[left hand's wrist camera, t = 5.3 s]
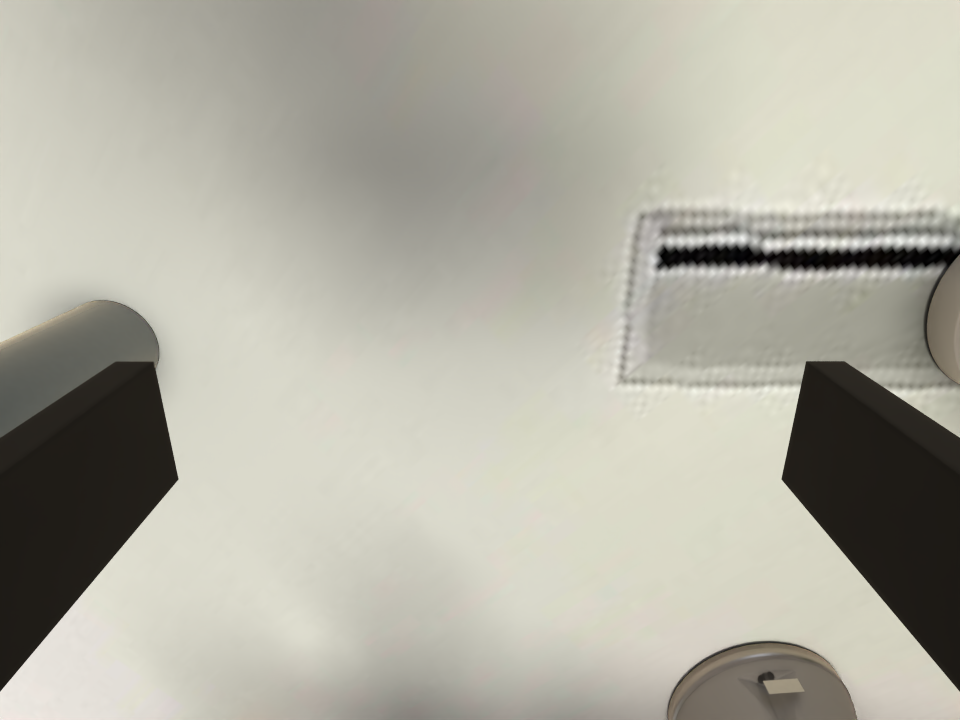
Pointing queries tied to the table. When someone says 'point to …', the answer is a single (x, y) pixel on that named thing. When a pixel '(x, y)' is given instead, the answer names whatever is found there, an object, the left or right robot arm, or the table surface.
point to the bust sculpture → (946, 323)
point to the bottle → (67, 356)
